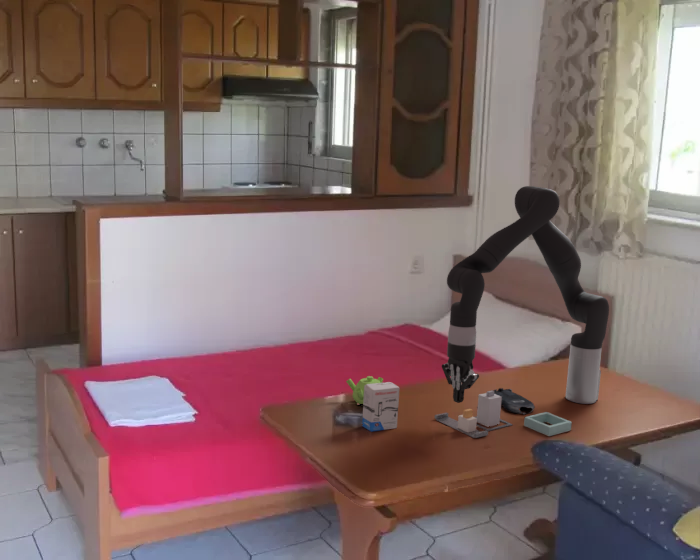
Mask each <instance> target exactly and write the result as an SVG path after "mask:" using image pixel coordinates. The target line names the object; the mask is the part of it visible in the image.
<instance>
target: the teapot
mask: <svg viewBox="0 0 700 560" xmlns="http://www.w3.org/2000/svg"><path fill="white" fill-rule="evenodd" d="M383 382H384V378H383V377H380V376H378V378H374V376H372V375H371V376H370V375H368V376H366V377H363V378H361V379H360V380H359V381H358V382H357V383H356V384H355V383H354V381H353V380H352V379H351V378H348V379H347V380H346V383H347V385H348V387H350V389H351V390H352V398H353V400H354V401H355V402H356V404H357V403H359V404H363V400H364V386H365V385H366V384H374V383H383Z"/></svg>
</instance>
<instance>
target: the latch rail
mask: <svg viewBox="0 0 700 560" xmlns="http://www.w3.org/2000/svg"><path fill="white" fill-rule="evenodd" d="M434 419H435V420H436V421H437V422H439V423H442V424H443V425H445V426H448V427H450V428H452V429H454V430H456V431H458V432H461V433H463V434H465V435H467V436H468V437H470V438H472V439H475V438H481V437H482V438H483V437H486V436H488V435H489V431H486V430H482V431H480V430H478V429H476V431H472V432H466V431H463V430H461V429H459V428H458V420H456V419H454V418H452V417H450V416H449V412H447V411H446V412H443V413H438V414H434Z"/></svg>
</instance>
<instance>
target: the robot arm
mask: <svg viewBox="0 0 700 560" xmlns="http://www.w3.org/2000/svg"><path fill="white" fill-rule="evenodd" d="M560 201H561V200H560V196H559V194H558V193H557V192H556V190H553V189H550V188H546V187H541V186H535V185H526V186H523V187H520V188H519V189H518V190H517V191H516V194H515V196H514V206H515V207H514V208H515V210H516V213H517V215H518V216H519V218H518V219H517V220H516V221H514V222H512V223H510V224H508V225H507V226H505V227H503V228H502V229H500V230H498V231H496V232H495V233H493V234H491V235H490V236H489V237H488V238H487V239H485V241H483V243H482V244H481V245H480V246H479V247H478V248H477V250H476V251H475V252H474V253H472V254H470V255H468V256H467V257H465V258H463V260H460V261H459V262H457V264H455V265H454V266H453V267H452V268H451V269H450V271H449V272H448V274H447V277H446V284H447V287H448V288H449V290H451V291H452V292H454V293H459V294H461V298H460V300H459V301H456V302H454V303H452V305H451V308H450V312H449V313H450V314H449V316H450V317H449V327H448V331H447V333H448V335H447V350H446V356H447V357H448V359H447V362H446V363H443V364H441V369H442V371H443V373H444V376H445V378H446V381H447V384H448V385H451V387H452V388H453V393H452V399H453V402H455V403H457V404H459V403H463V401H465V400H464V399H465V390H469V389H471V388H472V386H473V385H474V384H475V383H476V381H477V380H478V379H479V378H480V374H479V373H475V371H474V364H473V361H474V359H475V358H476V346H477V345H476V343H477V314H478V310H479V309H478V308H479V306H480V303H481V301H482V297H483V294H484V291H485V278H484V276H483V274H488V273H492V272H493V271H495V269H496V268H497V267H498V266H499V265H500V264H501V263H502V262H503V261H504V260H505V259H506V258H507V257H508V256H509V254H510V253H512V252H513V251H514V249H515V248H517V247H518V246H519V245H520V244H522V243H523V242H524V241H526V239H529V237H530V236H532V238H533V240H534V241H535V242H534V243H536V245H537V248H538V249H539V251H540V253H541V255H542V257H543V259H544V261H545V264H546V266H547V267H548V269H549V271H550V273H551V275H552V276H553V278H554V280H555V283H556V285H557V287H558V289H559V291H560V293H561V296H562V299H563V302H564V305H565V307H566V310H567V312H568V315H569V316H570V318H571V319H572V320H574V321H576V322H578V323H582V324H585V327H584V331H582V332H577V333H576V332H575V333H573V334H572V335H571V338H570V346H569V357H568V367H567V379H566V386H565V387H566V389H565V399H566V400H568V401H570V402H573V403H577V404H583V405H585V404H586V405H588V404H589V405H590V404H594V403H596V402H597V401H598V400H599V393H600V385H601V375H602V370H601V356H602V348H603V342H604V340H605V338H606V334H607V333H606V332H607V328H608V327H607V326H608V321H609V315H610V305H609V304H610V303H609V302H608V299H607V298H606V297H604V296H602V295H598V294H594V293H590V292H586V291H585V290H584V289H583V287H582V285H581V282H580V281H579V276H580V272H581V269H582V261H581V258H580V257H581V256H580V255H579V253H578V251H577V249H576V246H575V245H574V243H573V242H572V240H571V239H570V238H569V237H568V236H567V235H566V234H565V233H563V231H562V230H561V229H559V228H558V227H557V226H556V225H555V224H554V223H553V222H552V221H551V220H552V219H553V218H554V217H555V216H556V214H557V213H558V211H559V208H560V204H561V203H560Z"/></svg>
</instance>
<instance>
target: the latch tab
mask: <svg viewBox="0 0 700 560" xmlns="http://www.w3.org/2000/svg"><path fill="white" fill-rule="evenodd" d="M462 411H463V412H462V414H460V415H458V418H457V421H458V428H459V429H461V430H463V431H466V432H472V431H476V430H477V426H476V424H478V422H477V418H475V417H476V416H474V415H473V414H474V413H473V412H474V410H473V409H472V408H467V409H463V410H462Z"/></svg>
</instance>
